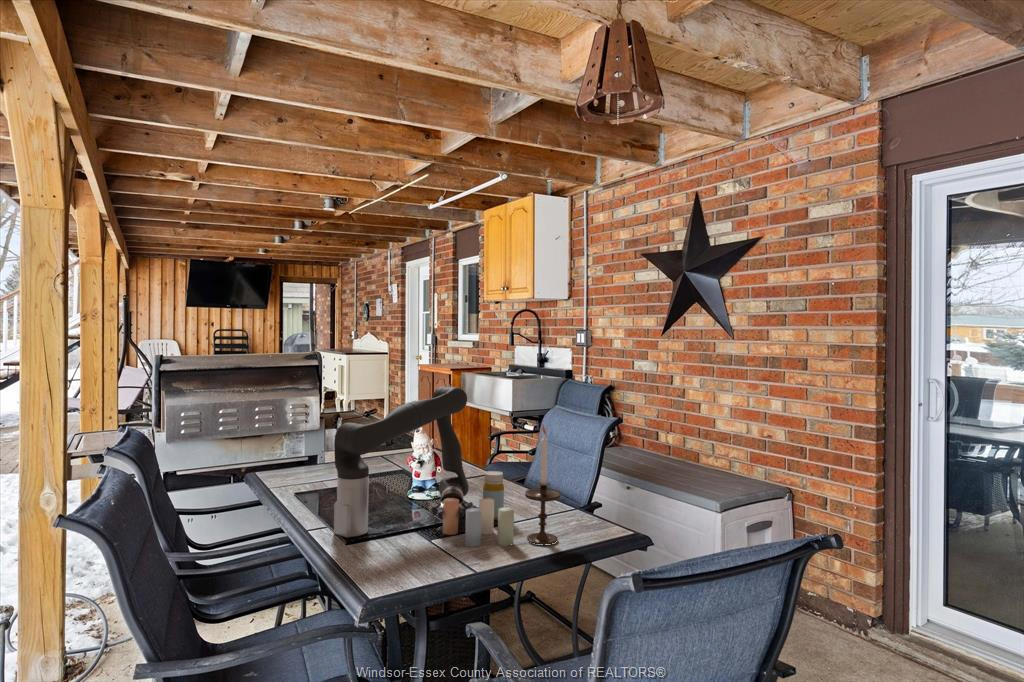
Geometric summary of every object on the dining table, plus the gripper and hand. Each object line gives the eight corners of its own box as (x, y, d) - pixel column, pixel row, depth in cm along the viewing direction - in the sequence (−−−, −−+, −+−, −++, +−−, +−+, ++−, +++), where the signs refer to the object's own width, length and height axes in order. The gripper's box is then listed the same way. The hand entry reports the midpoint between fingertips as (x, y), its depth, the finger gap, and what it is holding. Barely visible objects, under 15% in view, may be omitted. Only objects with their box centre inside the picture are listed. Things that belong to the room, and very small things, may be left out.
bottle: (485, 521, 201) (486, 475, 201) (480, 515, 208) (481, 471, 207) (505, 520, 203) (506, 475, 203) (500, 514, 210) (501, 470, 209)
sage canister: (507, 547, 178) (507, 513, 178) (494, 544, 180) (495, 510, 180) (516, 543, 181) (517, 509, 181) (503, 539, 184) (504, 506, 184)
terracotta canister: (451, 535, 187) (451, 503, 186) (439, 532, 189) (440, 500, 189) (460, 532, 190) (461, 499, 190) (449, 528, 193) (450, 497, 193)
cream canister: (487, 535, 187) (487, 503, 187) (475, 532, 190) (476, 500, 190) (496, 532, 191) (497, 500, 191) (484, 528, 194) (485, 497, 194)
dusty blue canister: (474, 548, 177) (474, 513, 176) (461, 544, 179) (462, 510, 179) (484, 543, 180) (484, 509, 180) (472, 540, 183) (472, 507, 183)
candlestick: (530, 548, 177) (533, 427, 177) (519, 536, 188) (522, 421, 187) (565, 545, 180) (568, 426, 180) (553, 533, 191) (555, 420, 190)
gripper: (430, 488, 203) (426, 503, 186) (474, 488, 204) (474, 503, 187) (430, 511, 204) (426, 527, 187) (473, 511, 204) (473, 527, 188)
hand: (450, 515), depth 187 cm, fingers open, 5 cm apart
